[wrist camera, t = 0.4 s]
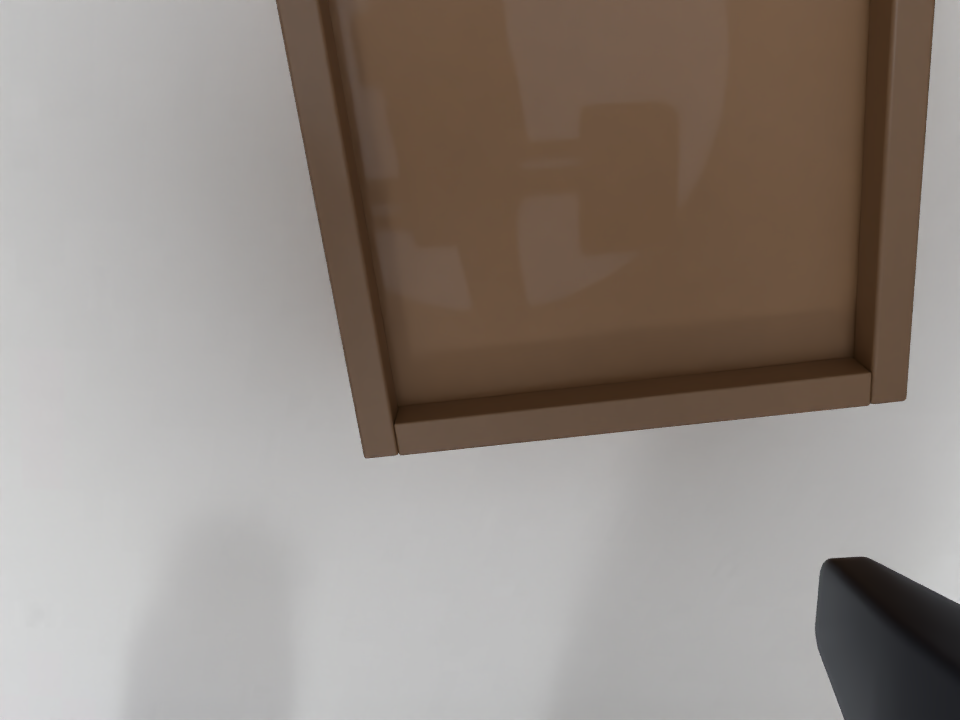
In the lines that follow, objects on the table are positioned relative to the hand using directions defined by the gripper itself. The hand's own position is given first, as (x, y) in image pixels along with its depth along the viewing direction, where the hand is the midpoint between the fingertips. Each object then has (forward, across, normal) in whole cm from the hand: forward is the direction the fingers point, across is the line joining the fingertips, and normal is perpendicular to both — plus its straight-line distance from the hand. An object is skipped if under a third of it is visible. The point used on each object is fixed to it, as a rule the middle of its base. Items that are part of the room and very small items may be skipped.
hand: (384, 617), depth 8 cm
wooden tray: (+14, -4, -5) cm, 15 cm away
